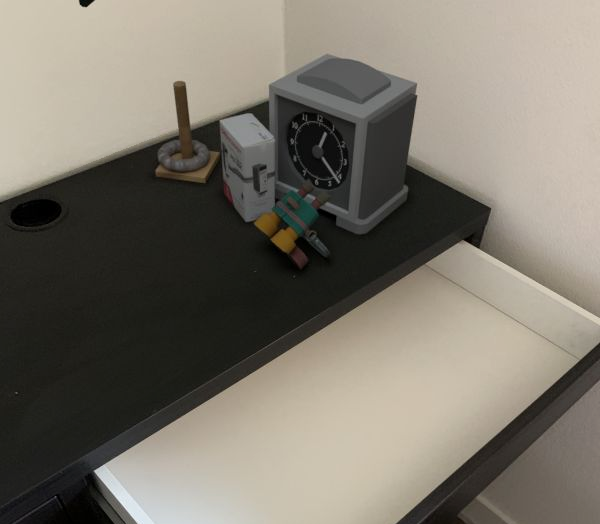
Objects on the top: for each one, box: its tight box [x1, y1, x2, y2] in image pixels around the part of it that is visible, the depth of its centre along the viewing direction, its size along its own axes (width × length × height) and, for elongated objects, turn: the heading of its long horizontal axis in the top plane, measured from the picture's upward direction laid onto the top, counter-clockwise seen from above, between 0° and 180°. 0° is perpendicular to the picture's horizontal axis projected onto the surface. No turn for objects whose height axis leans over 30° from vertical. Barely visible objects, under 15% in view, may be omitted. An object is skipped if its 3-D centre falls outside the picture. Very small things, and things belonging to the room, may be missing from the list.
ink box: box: [219, 112, 276, 223], centre depth 94 cm, size 9×5×12 cm, turn 27°
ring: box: [156, 139, 210, 172], centre depth 103 cm, size 8×8×2 cm
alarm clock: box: [268, 53, 418, 235], centre depth 94 cm, size 18×13×18 cm
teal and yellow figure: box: [253, 179, 331, 270], centre depth 87 cm, size 9×9×10 cm
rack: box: [154, 80, 221, 184], centre depth 100 cm, size 8×8×13 cm
